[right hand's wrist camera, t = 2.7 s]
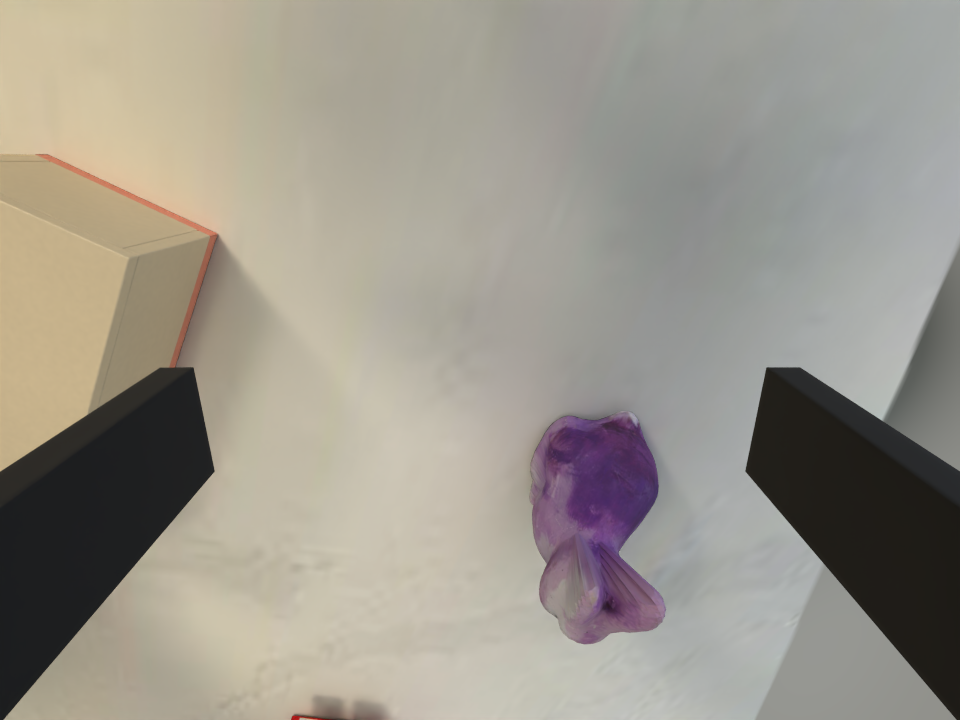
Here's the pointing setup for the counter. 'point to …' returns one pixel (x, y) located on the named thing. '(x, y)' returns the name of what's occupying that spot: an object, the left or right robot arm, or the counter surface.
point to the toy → (306, 718)
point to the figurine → (593, 525)
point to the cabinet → (84, 295)
